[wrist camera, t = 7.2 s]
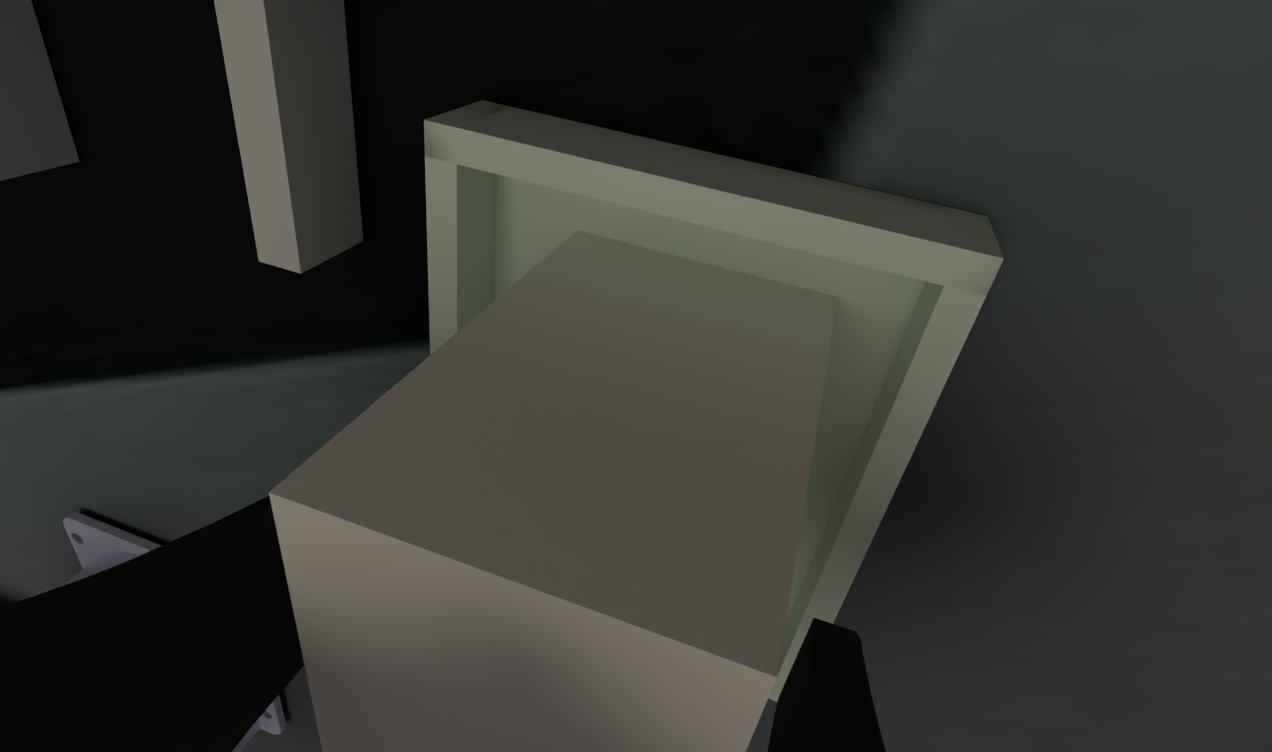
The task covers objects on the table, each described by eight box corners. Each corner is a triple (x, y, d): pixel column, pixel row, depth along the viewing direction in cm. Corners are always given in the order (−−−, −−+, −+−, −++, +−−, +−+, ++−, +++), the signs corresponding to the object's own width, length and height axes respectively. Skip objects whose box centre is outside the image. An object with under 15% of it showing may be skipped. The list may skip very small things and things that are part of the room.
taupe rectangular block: (743, 581, 16) (645, 990, 10) (550, 515, 17) (343, 849, 11) (837, 297, 12) (776, 677, 6) (577, 229, 13) (267, 493, 7)
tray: (803, 638, 17) (794, 707, 16) (475, 522, 19) (435, 574, 18) (987, 216, 11) (1004, 258, 10) (482, 100, 13) (424, 119, 11)
